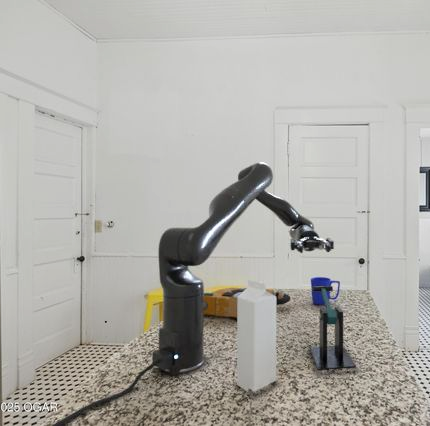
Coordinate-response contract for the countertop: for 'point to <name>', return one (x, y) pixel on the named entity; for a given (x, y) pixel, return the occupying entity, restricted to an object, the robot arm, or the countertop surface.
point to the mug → (317, 296)
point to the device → (232, 301)
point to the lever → (327, 303)
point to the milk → (256, 337)
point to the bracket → (333, 354)
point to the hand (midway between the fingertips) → (315, 249)
